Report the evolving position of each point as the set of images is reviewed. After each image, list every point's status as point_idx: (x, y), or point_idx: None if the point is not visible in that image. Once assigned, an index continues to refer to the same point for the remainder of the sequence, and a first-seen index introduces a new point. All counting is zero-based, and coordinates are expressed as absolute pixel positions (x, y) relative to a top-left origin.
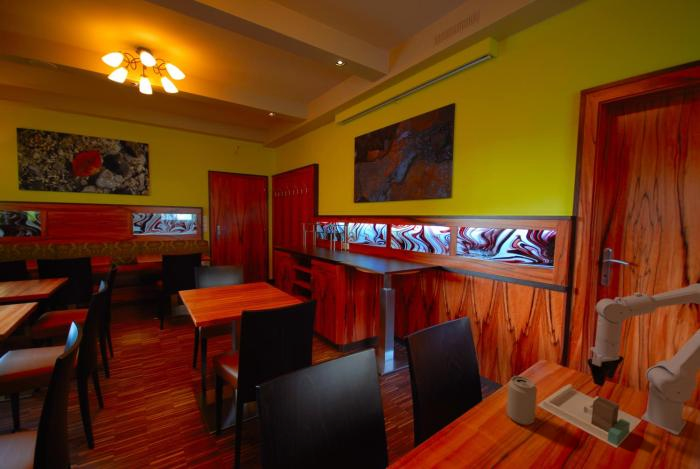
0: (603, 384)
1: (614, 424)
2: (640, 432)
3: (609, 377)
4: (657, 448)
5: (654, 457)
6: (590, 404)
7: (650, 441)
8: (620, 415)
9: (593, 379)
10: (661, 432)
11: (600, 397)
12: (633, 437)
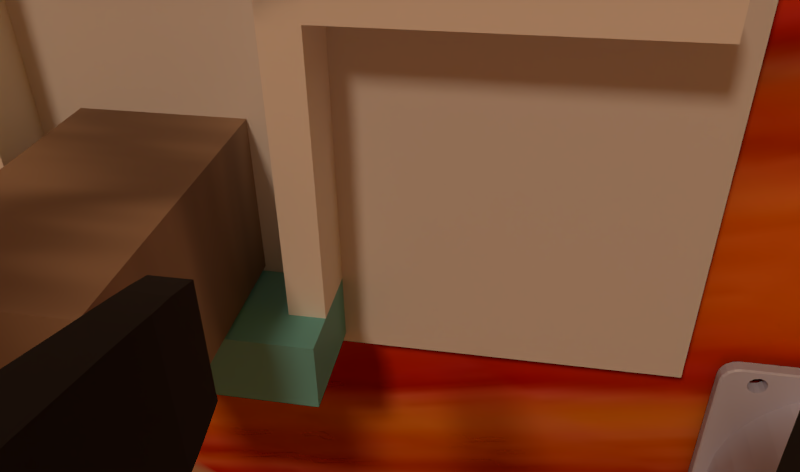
0: (189, 442)
1: None
2: (474, 372)
3: (795, 440)
4: (360, 455)
5: (233, 448)
6: (386, 14)
7: (408, 425)
8: (595, 244)
9: (69, 327)
10: (631, 466)
11: (46, 332)
12: (341, 347)
